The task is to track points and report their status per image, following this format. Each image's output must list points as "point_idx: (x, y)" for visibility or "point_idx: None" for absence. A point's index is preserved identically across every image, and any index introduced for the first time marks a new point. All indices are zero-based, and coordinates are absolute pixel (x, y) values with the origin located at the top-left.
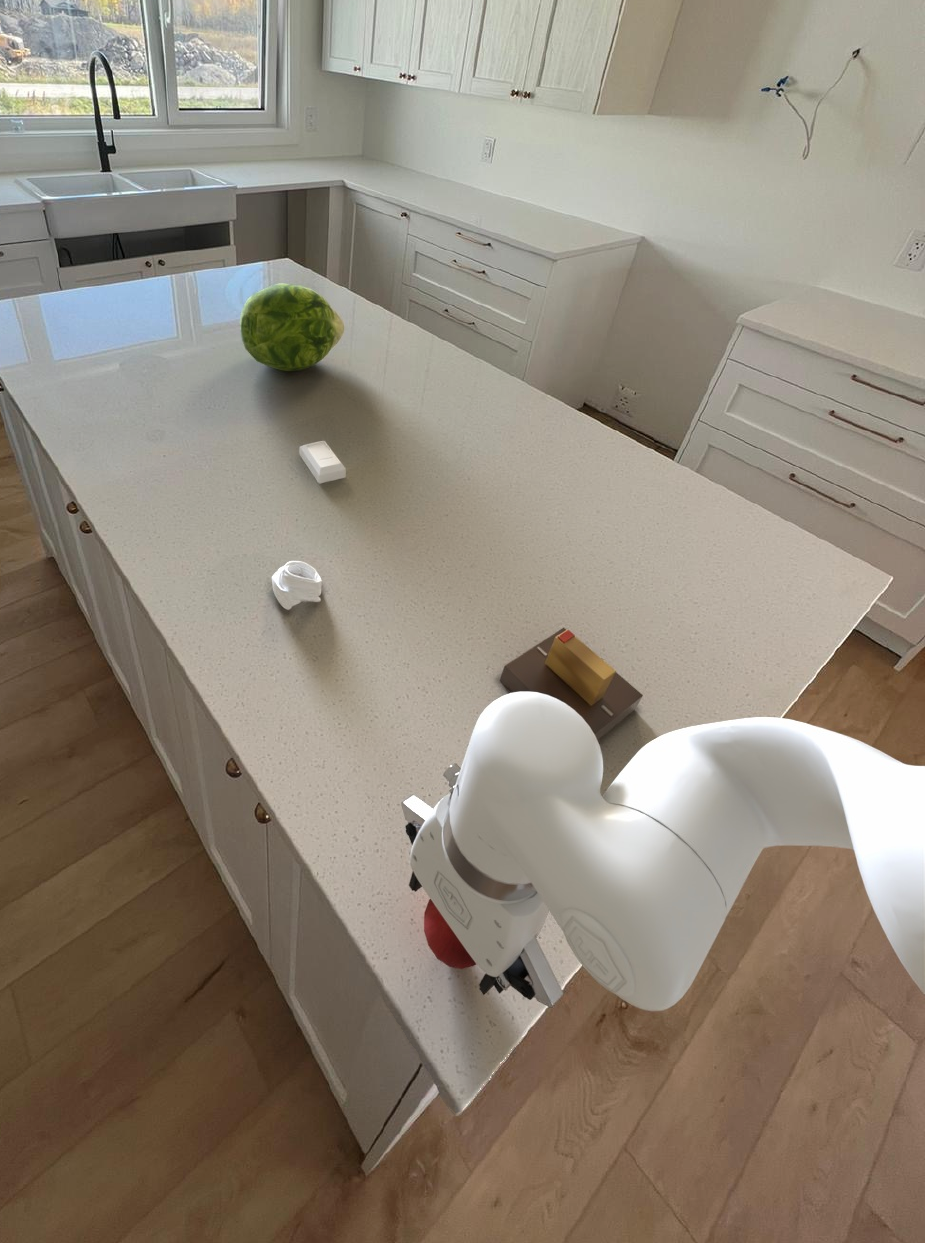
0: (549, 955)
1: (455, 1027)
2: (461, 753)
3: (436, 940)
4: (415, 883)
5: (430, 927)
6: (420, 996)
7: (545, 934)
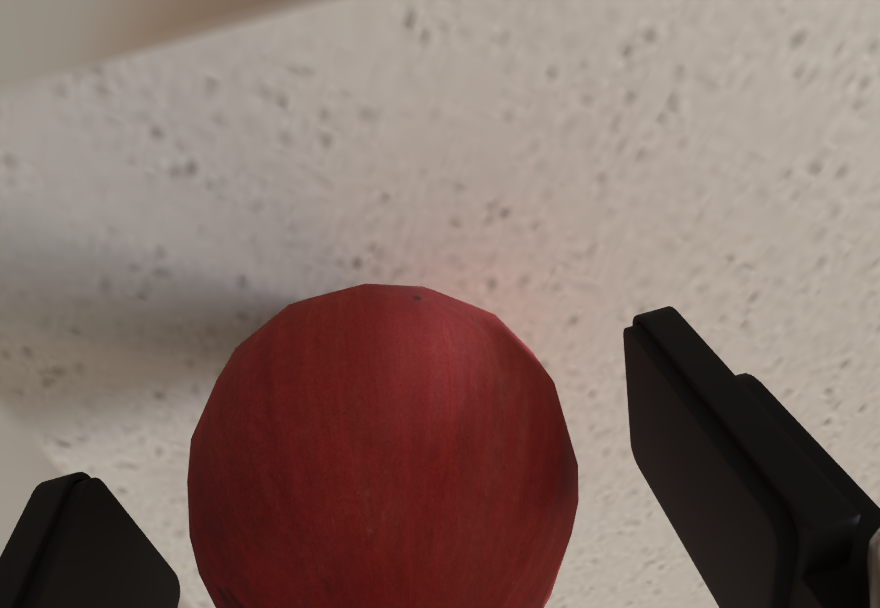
0: None
1: (51, 237)
2: None
3: (339, 394)
4: (687, 385)
5: (422, 383)
6: (201, 130)
7: None
